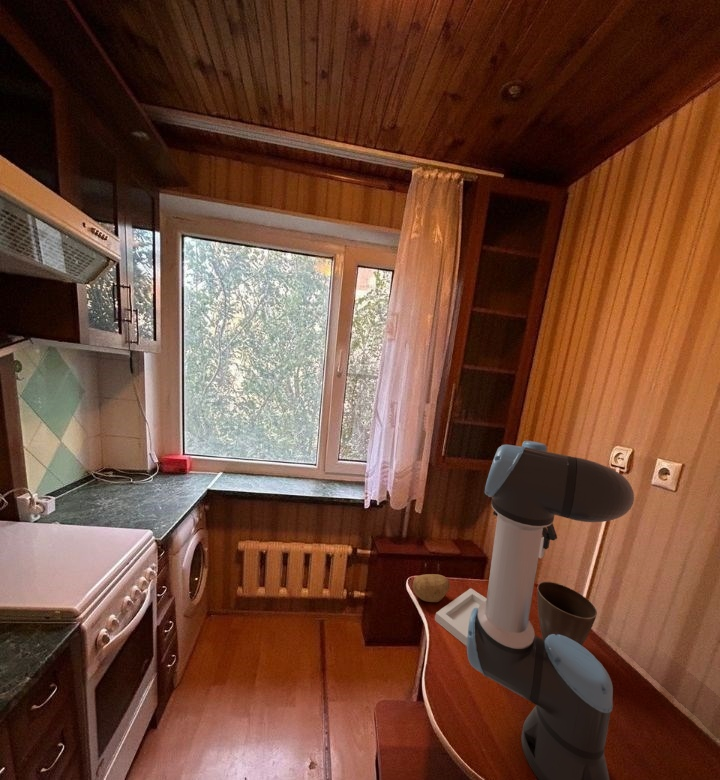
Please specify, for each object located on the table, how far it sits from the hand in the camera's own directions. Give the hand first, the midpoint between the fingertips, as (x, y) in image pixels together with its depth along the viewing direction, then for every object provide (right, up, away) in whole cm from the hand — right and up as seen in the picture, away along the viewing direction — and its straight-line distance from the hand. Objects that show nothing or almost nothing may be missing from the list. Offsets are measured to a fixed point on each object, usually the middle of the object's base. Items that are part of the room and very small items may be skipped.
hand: (519, 546), depth 105 cm
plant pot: (+5, -25, -13) cm, 28 cm away
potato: (-31, -20, +2) cm, 37 cm away
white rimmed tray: (-17, -22, -7) cm, 29 cm away
